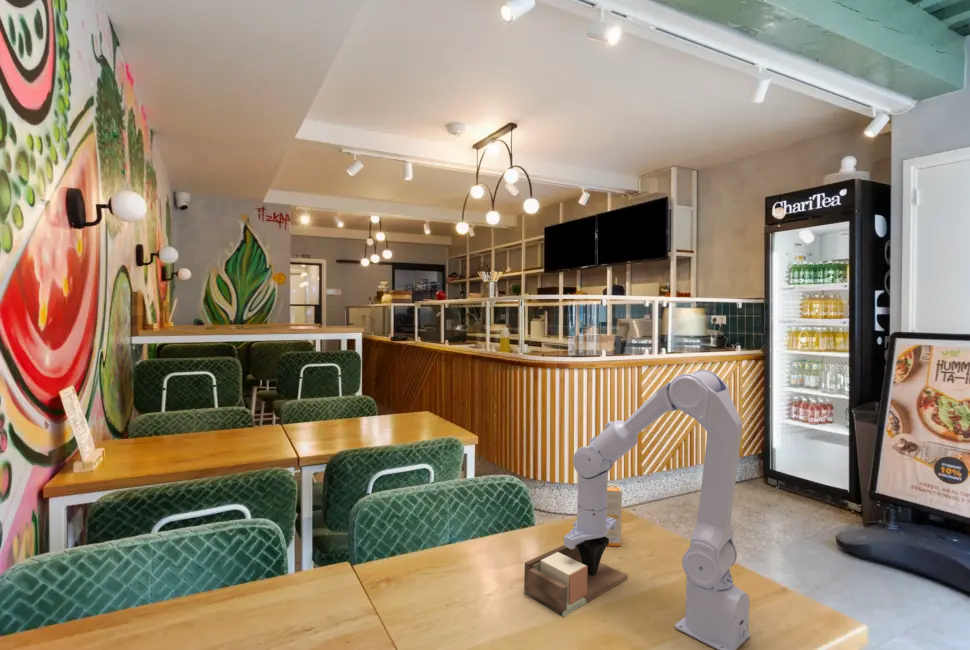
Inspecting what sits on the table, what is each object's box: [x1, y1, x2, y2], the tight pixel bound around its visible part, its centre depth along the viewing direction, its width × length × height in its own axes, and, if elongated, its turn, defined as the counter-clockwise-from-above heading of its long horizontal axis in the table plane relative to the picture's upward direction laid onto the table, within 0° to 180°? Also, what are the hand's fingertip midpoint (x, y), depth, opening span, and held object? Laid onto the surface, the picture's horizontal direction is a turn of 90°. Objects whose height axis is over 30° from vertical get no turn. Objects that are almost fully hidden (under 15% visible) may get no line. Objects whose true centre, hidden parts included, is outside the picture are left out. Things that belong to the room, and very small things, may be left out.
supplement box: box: [605, 483, 623, 547], centre depth 122 cm, size 8×5×13 cm, turn 84°
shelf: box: [523, 544, 628, 617], centre depth 102 cm, size 10×20×6 cm, turn 132°
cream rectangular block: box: [540, 552, 587, 605], centre depth 99 cm, size 7×5×6 cm
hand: (590, 573), depth 104 cm, fingers closed
